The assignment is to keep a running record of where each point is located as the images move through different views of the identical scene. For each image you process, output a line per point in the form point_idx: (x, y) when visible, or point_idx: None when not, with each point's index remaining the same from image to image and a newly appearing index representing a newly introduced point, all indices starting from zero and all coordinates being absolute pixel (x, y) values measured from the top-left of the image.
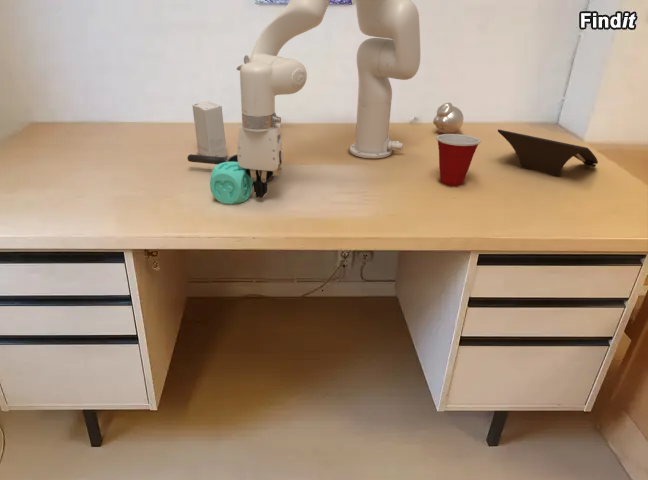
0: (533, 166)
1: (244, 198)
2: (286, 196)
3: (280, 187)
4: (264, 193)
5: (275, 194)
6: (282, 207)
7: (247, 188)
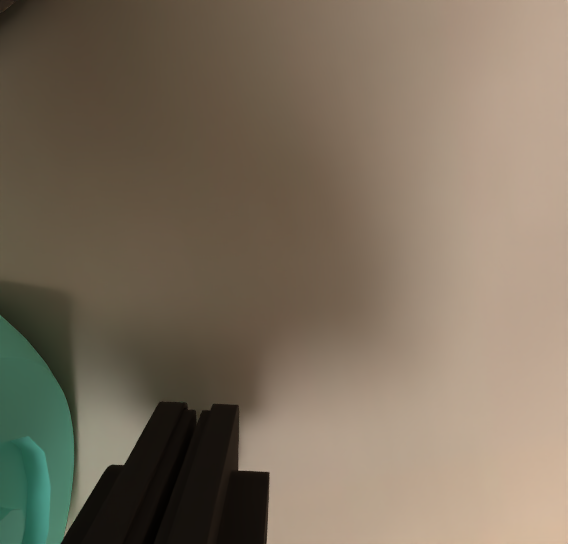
0: None
1: (57, 539)
2: (457, 278)
3: (335, 11)
4: (236, 456)
5: (322, 250)
6: (454, 525)
7: (3, 525)
